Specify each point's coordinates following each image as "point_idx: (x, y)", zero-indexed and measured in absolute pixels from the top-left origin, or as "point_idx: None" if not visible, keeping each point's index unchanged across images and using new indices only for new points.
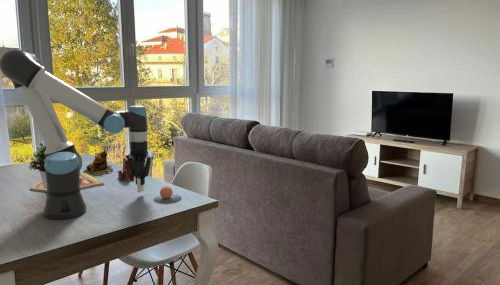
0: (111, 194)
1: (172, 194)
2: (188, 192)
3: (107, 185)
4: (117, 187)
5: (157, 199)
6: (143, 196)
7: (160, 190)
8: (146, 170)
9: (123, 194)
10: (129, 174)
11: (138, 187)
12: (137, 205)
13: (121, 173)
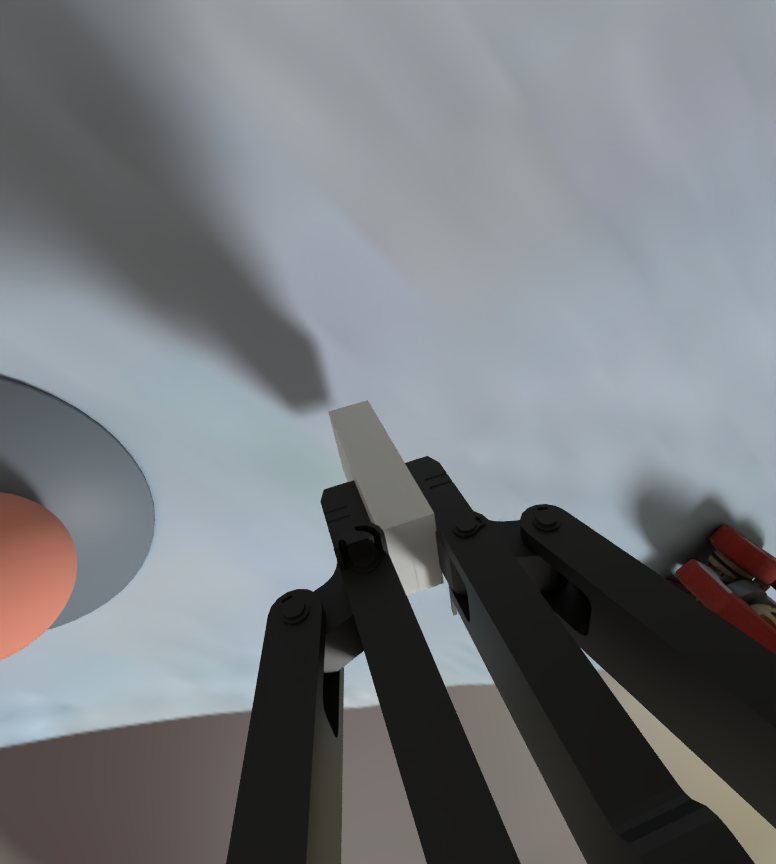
0: (632, 252)
1: (78, 616)
2: (30, 726)
3: (772, 404)
4: (677, 423)
5: (32, 434)
6: (292, 410)
7: (1, 550)
8: (246, 765)
9: (522, 327)
10: (704, 598)
11: (367, 436)
12: (9, 91)
13: (770, 571)
